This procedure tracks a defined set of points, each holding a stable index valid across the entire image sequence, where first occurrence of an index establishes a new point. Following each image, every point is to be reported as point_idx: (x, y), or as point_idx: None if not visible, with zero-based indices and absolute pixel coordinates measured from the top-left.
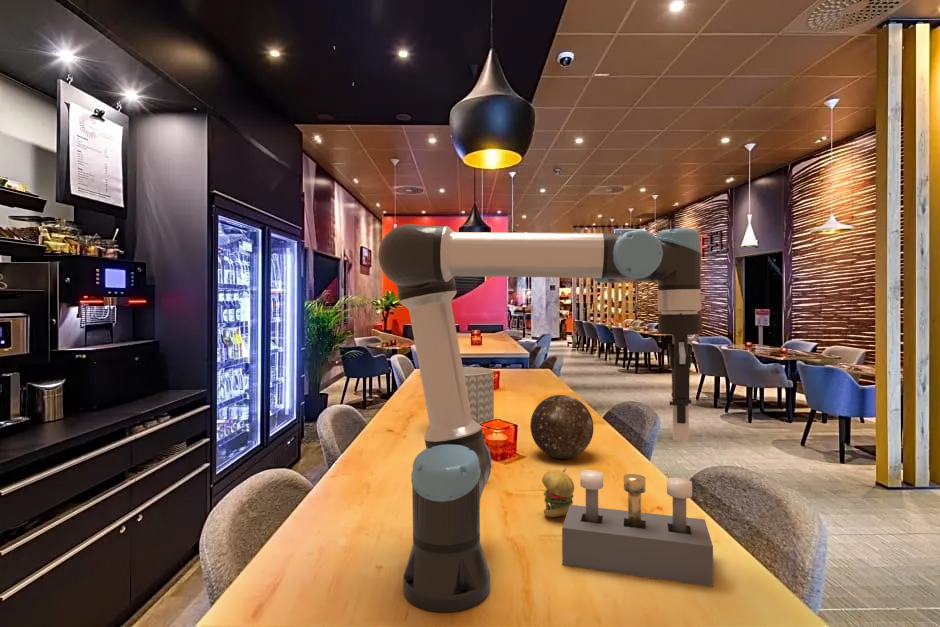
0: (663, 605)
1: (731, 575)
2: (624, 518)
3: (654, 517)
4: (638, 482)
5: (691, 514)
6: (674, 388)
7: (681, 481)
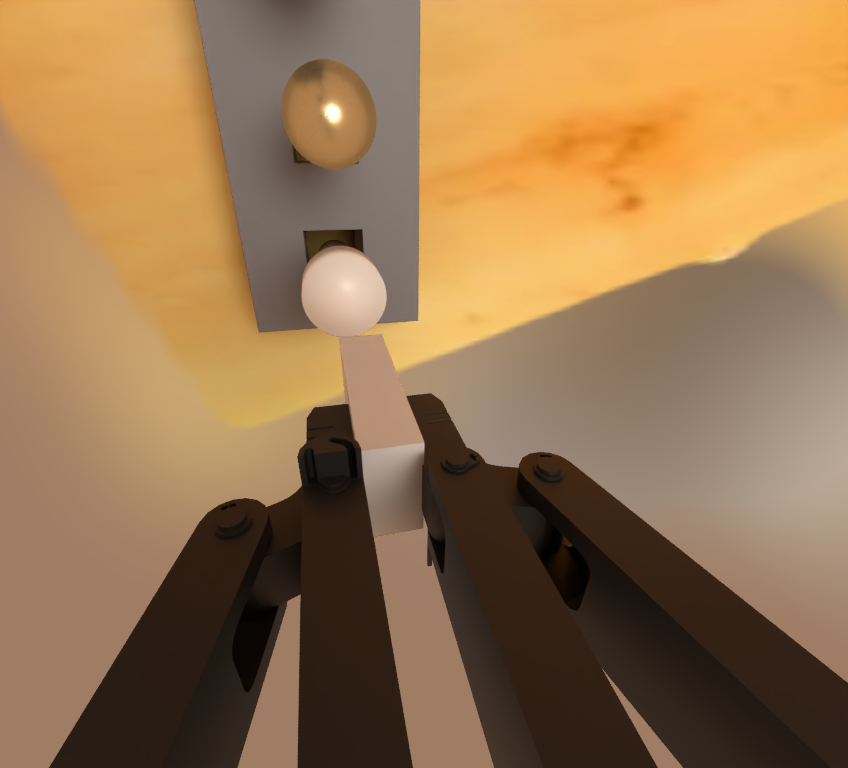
0: (125, 199)
1: (330, 336)
2: None
3: (392, 192)
4: (288, 136)
5: (596, 277)
6: (212, 641)
7: (347, 304)
